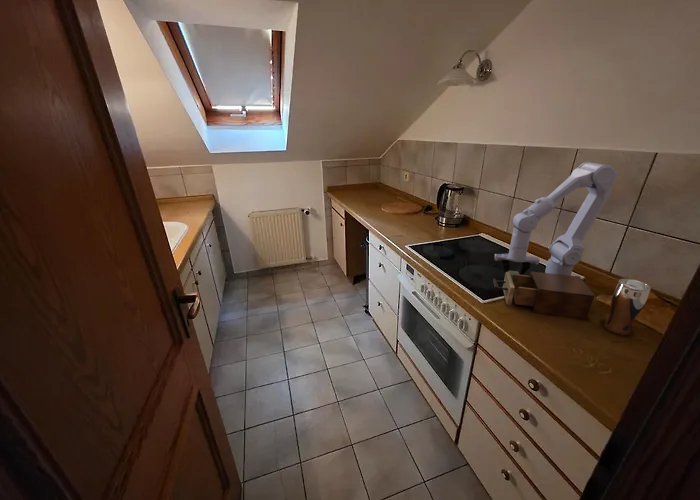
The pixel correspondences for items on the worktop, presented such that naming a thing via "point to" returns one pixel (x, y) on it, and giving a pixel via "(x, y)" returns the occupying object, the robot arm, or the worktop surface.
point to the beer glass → (626, 305)
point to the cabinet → (562, 295)
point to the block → (513, 273)
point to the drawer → (518, 289)
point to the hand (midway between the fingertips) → (512, 278)
